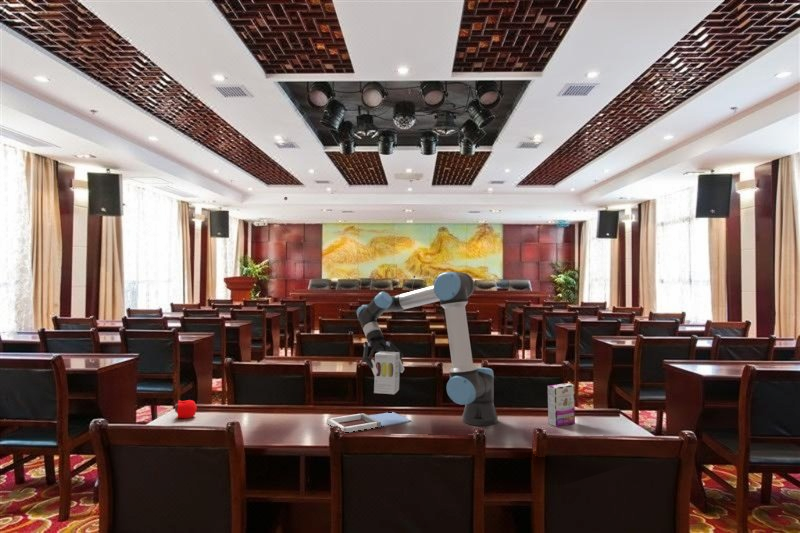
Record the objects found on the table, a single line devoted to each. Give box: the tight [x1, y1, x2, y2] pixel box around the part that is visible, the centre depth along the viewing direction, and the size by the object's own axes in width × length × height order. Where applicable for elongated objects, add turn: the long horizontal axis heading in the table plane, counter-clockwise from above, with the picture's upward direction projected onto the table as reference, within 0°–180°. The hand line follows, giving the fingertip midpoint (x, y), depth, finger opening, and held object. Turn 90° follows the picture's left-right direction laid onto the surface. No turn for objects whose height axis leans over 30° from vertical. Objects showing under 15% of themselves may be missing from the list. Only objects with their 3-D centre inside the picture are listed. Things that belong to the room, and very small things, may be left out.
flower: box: [176, 399, 198, 419], centre depth 211 cm, size 8×8×8 cm
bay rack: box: [326, 411, 412, 433], centre depth 204 cm, size 16×32×2 cm, turn 122°
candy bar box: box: [547, 382, 576, 428], centre depth 204 cm, size 11×5×16 cm, turn 117°
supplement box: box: [373, 351, 400, 395], centre depth 210 cm, size 10×9×17 cm
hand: (389, 372), depth 208 cm, fingers closed on supplement box, 13 cm apart
